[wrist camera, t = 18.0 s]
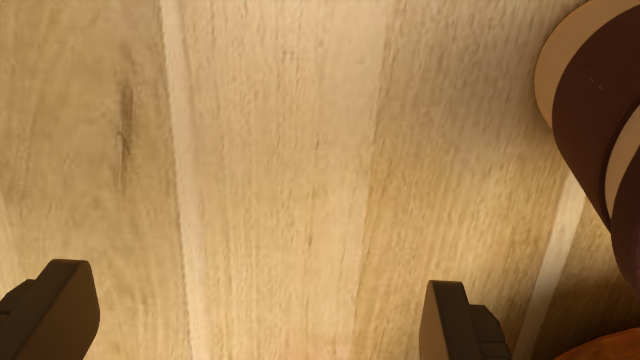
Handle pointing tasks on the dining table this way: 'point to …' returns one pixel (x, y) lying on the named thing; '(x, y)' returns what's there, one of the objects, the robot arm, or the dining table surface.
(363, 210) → the dining table surface
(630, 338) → the bowl
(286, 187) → the dining table surface
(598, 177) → the coffee cup
